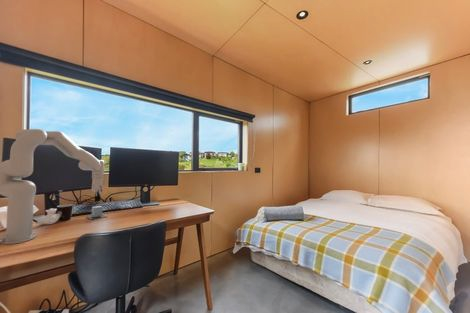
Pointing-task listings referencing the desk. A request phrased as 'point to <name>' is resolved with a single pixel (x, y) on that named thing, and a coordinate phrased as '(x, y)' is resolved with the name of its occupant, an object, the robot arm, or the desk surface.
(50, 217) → the duck figurine
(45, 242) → the desk surface
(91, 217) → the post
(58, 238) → the desk surface
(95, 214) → the cap
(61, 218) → the coffee mug
